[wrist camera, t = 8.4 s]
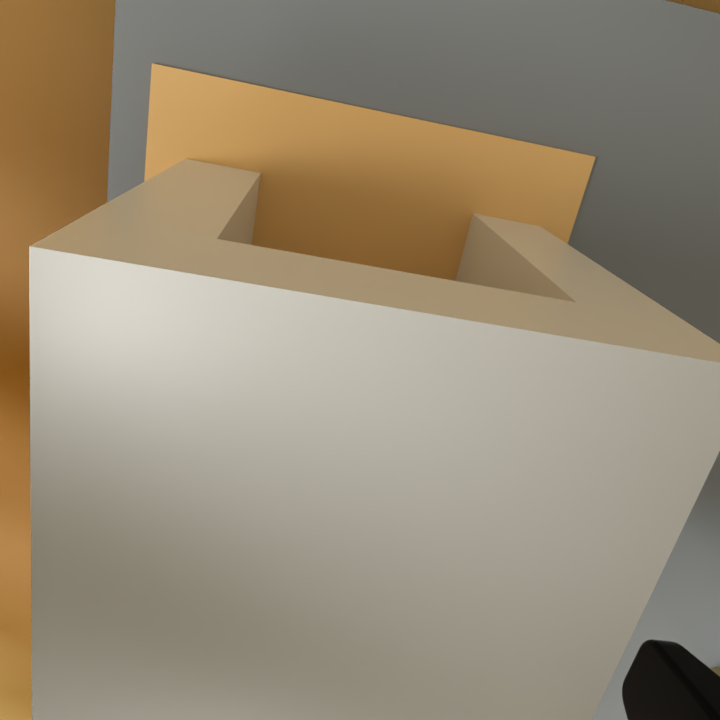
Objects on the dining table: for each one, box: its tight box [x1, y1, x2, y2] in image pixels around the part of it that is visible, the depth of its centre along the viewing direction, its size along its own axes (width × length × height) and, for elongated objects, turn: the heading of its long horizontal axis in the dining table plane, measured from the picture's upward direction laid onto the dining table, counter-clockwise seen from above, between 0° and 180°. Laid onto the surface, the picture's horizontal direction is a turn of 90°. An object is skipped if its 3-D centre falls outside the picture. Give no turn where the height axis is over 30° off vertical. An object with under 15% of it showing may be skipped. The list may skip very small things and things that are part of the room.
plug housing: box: [29, 159, 720, 720], centre depth 8 cm, size 5×10×5 cm, turn 169°
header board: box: [107, 0, 720, 720], centre depth 11 cm, size 16×16×4 cm
